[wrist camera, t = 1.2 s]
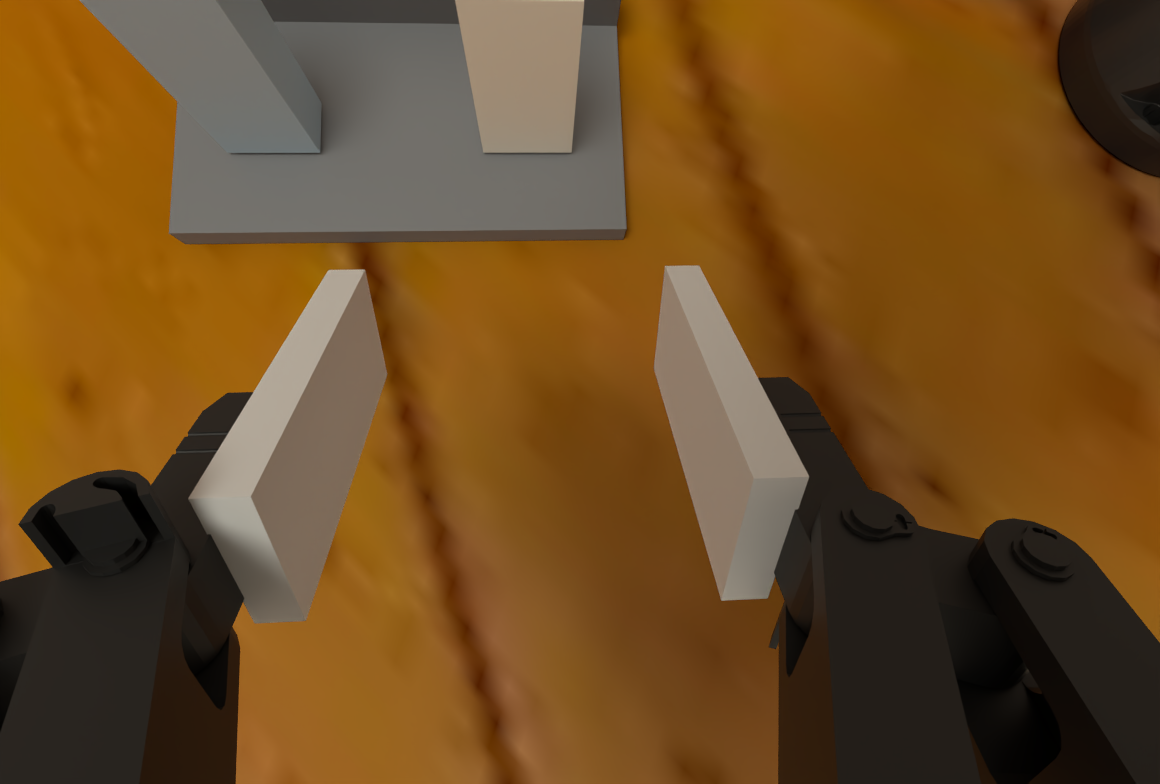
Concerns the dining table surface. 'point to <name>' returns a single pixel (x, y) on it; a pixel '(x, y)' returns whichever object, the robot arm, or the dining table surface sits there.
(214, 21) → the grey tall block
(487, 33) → the cream key
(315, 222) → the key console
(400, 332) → the dining table surface
